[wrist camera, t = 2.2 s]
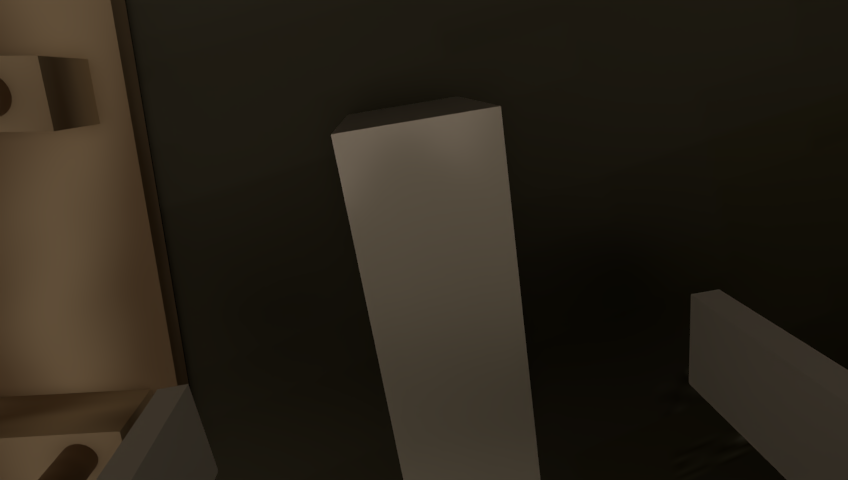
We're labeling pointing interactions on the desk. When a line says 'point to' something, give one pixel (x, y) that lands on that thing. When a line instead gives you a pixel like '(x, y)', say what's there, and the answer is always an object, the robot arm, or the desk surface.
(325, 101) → the desk surface
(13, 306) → the rack
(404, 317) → the grey rectangular block
